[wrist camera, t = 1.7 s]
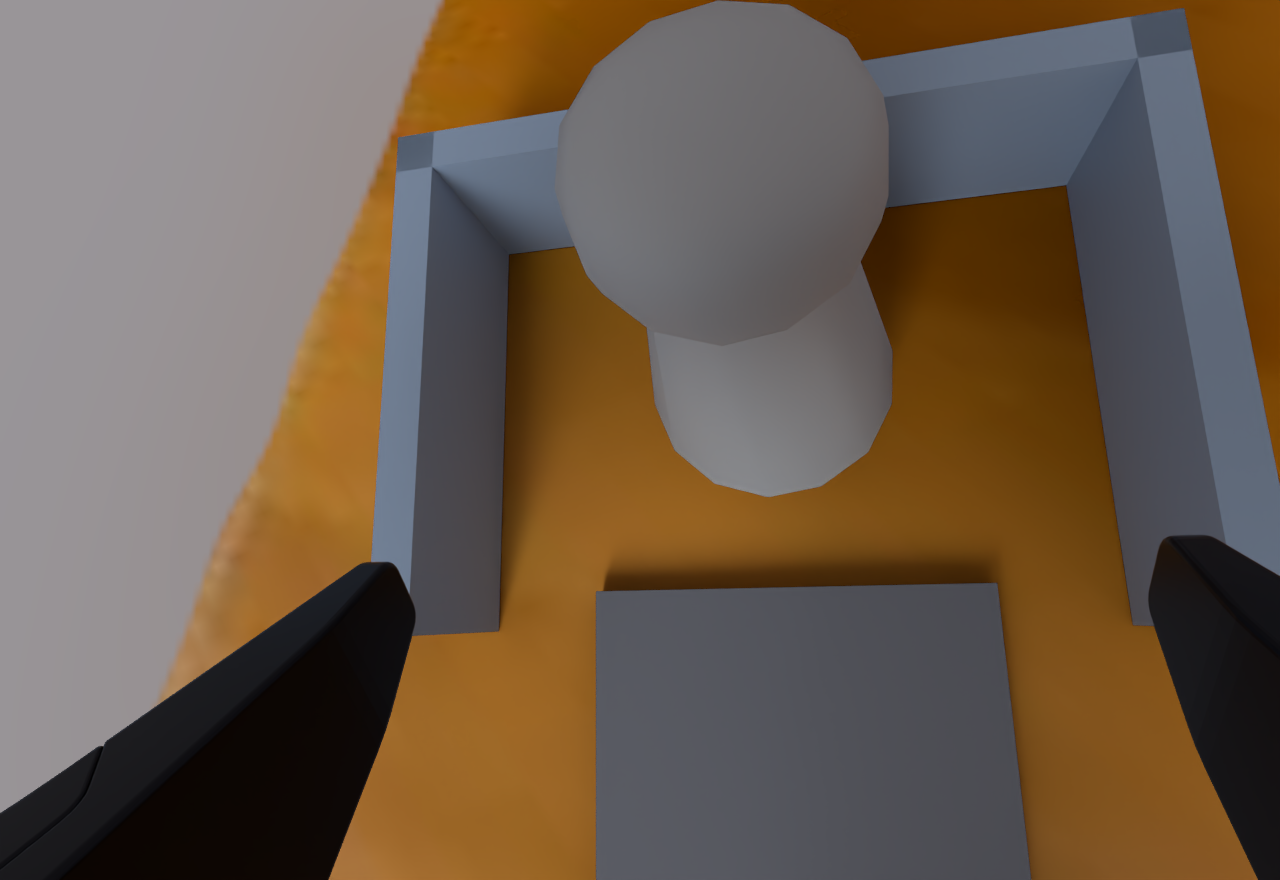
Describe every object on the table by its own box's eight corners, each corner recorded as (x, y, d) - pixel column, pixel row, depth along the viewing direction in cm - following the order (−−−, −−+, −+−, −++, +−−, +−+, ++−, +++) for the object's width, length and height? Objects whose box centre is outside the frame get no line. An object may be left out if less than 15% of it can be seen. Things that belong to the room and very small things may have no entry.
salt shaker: (796, 266, 22) (759, -179, 10) (932, 419, 20) (1100, 114, 8) (633, 390, 22) (396, 114, 10) (753, 552, 21) (646, 457, 8)
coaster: (1044, 1049, 17) (1052, 1065, 16) (603, 1005, 19) (596, 1017, 18) (991, 583, 19) (997, 583, 19) (602, 592, 21) (595, 591, 21)
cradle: (1181, 624, 18) (1308, 628, 13) (465, 631, 22) (366, 636, 17) (1101, 146, 21) (1183, 8, 16) (480, 229, 25) (398, 137, 20)
